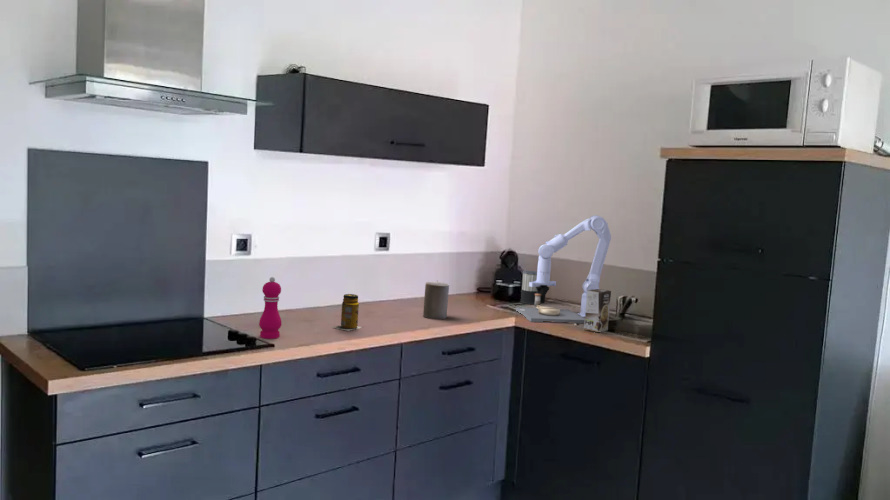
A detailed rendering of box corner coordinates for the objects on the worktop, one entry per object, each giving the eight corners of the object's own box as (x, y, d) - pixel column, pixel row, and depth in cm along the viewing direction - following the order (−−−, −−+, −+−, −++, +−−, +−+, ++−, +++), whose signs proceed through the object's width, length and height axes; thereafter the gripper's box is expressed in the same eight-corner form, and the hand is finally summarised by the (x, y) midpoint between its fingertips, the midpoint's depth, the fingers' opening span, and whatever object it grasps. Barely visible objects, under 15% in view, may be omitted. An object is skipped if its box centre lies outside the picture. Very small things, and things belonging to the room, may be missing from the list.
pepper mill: (254, 337, 238) (256, 277, 236) (267, 333, 245) (269, 274, 243) (272, 340, 236) (275, 279, 234) (285, 336, 243) (287, 277, 241)
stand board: (567, 312, 324) (568, 308, 324) (586, 323, 300) (587, 319, 300) (515, 310, 320) (516, 307, 320) (530, 321, 296) (531, 317, 296)
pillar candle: (423, 318, 289) (426, 281, 287) (422, 313, 298) (425, 277, 297) (447, 320, 289) (450, 283, 288) (446, 315, 299) (448, 279, 298)
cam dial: (563, 315, 307) (565, 299, 306) (545, 315, 303) (546, 299, 302) (544, 308, 321) (545, 293, 320) (526, 308, 317) (527, 293, 317)
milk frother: (537, 305, 338) (540, 274, 337) (504, 301, 343) (507, 270, 341) (542, 301, 352) (545, 270, 350) (510, 297, 356) (513, 267, 355)
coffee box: (598, 333, 282) (601, 292, 280) (583, 330, 286) (586, 290, 284) (608, 330, 289) (611, 290, 288) (593, 327, 293) (596, 288, 291)
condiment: (362, 327, 264) (364, 295, 263) (348, 331, 257) (350, 297, 256) (346, 324, 268) (347, 292, 267) (332, 328, 260) (333, 295, 259)
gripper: (549, 270, 325) (546, 300, 327) (525, 270, 317) (522, 301, 318) (560, 272, 320) (557, 302, 321) (536, 273, 311) (533, 304, 312)
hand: (541, 302), depth 319 cm, fingers closed
